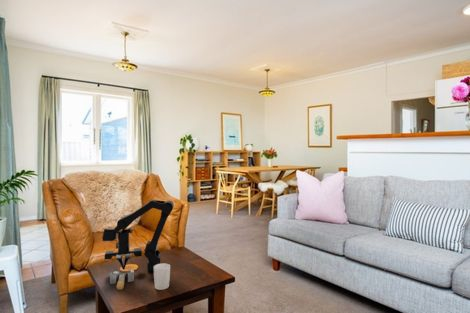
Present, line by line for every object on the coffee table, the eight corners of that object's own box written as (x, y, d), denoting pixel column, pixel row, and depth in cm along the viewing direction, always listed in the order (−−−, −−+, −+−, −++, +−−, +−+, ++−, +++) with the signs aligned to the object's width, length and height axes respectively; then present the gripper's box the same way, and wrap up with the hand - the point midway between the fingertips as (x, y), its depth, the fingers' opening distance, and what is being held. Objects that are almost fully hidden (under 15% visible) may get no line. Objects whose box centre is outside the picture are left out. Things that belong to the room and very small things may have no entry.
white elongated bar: (119, 276, 158) (119, 270, 158) (126, 275, 159) (126, 269, 159) (116, 290, 142) (116, 283, 142) (123, 289, 143) (123, 282, 143)
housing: (134, 275, 158) (134, 267, 158) (133, 281, 152) (133, 271, 152) (111, 278, 155) (111, 269, 155) (109, 283, 149) (109, 274, 149)
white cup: (155, 283, 150) (155, 263, 150) (171, 282, 151) (171, 263, 150) (152, 290, 142) (152, 270, 142) (169, 290, 143) (169, 269, 142)
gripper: (141, 235, 174) (141, 262, 174) (106, 237, 168) (106, 265, 169) (141, 241, 163) (141, 269, 163) (104, 244, 157) (104, 273, 158)
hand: (123, 269), depth 164 cm, fingers closed
